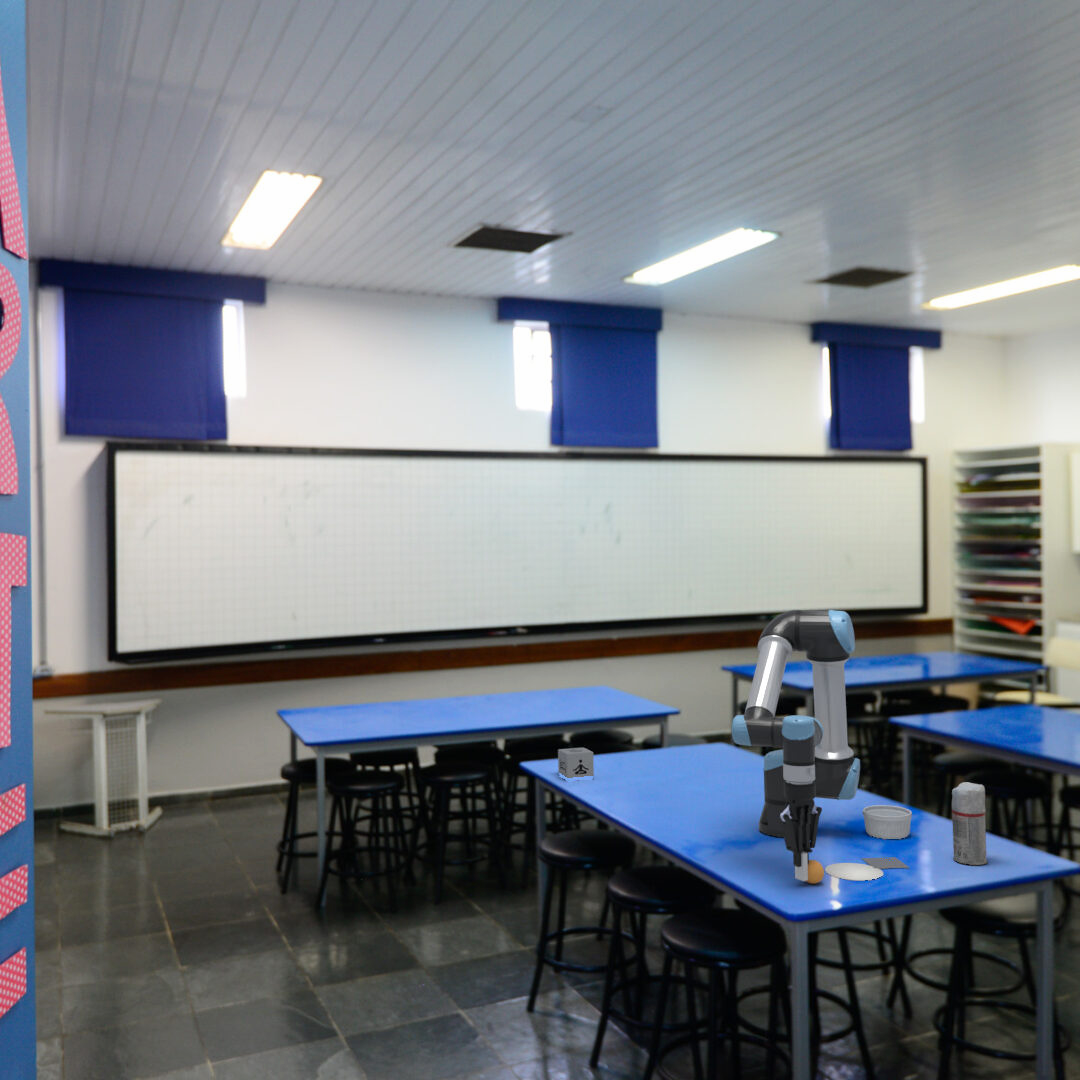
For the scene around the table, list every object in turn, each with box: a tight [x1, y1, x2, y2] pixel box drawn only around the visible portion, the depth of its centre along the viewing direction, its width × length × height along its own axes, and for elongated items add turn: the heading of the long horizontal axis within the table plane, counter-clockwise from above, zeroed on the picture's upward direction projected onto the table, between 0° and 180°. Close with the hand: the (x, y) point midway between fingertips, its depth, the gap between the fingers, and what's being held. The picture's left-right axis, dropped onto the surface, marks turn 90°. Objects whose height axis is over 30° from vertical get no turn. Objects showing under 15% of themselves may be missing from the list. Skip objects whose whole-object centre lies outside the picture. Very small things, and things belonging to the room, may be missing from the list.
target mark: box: [824, 862, 884, 882], centre depth 254 cm, size 14×14×1 cm
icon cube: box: [557, 747, 595, 778], centre depth 369 cm, size 10×10×10 cm
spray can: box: [951, 781, 988, 866], centre depth 262 cm, size 8×8×20 cm
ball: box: [805, 859, 825, 884], centre depth 246 cm, size 6×6×6 cm
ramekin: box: [862, 804, 913, 840], centre depth 288 cm, size 13×13×7 cm
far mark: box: [861, 856, 910, 870], centre depth 261 cm, size 9×9×1 cm
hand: (801, 879), depth 245 cm, fingers closed
